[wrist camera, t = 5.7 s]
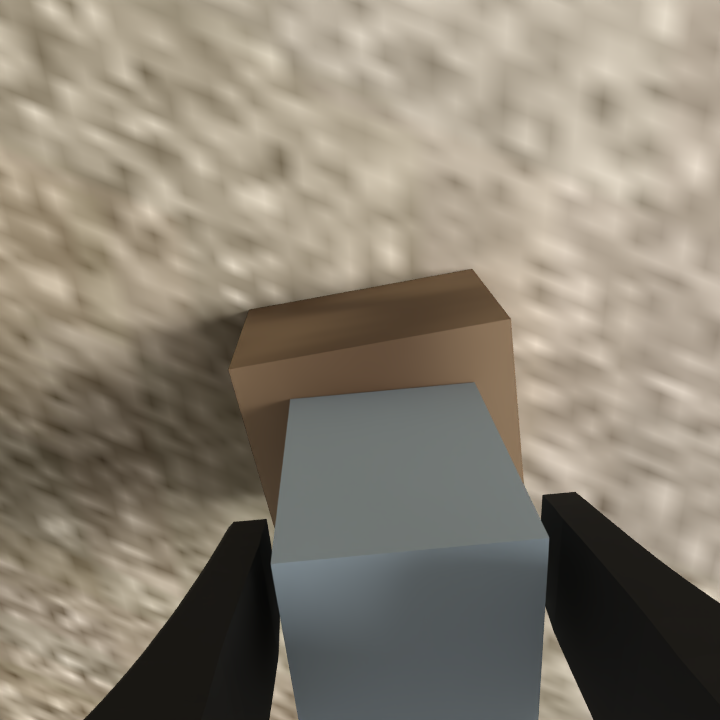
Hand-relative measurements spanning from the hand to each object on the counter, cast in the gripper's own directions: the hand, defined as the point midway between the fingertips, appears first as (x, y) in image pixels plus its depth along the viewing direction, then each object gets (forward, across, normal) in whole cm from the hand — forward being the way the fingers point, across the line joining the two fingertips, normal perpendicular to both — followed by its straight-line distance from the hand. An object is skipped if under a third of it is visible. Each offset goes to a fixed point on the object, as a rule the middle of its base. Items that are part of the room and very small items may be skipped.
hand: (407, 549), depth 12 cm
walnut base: (+7, 0, 0) cm, 7 cm away
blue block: (+3, 0, 0) cm, 3 cm away
